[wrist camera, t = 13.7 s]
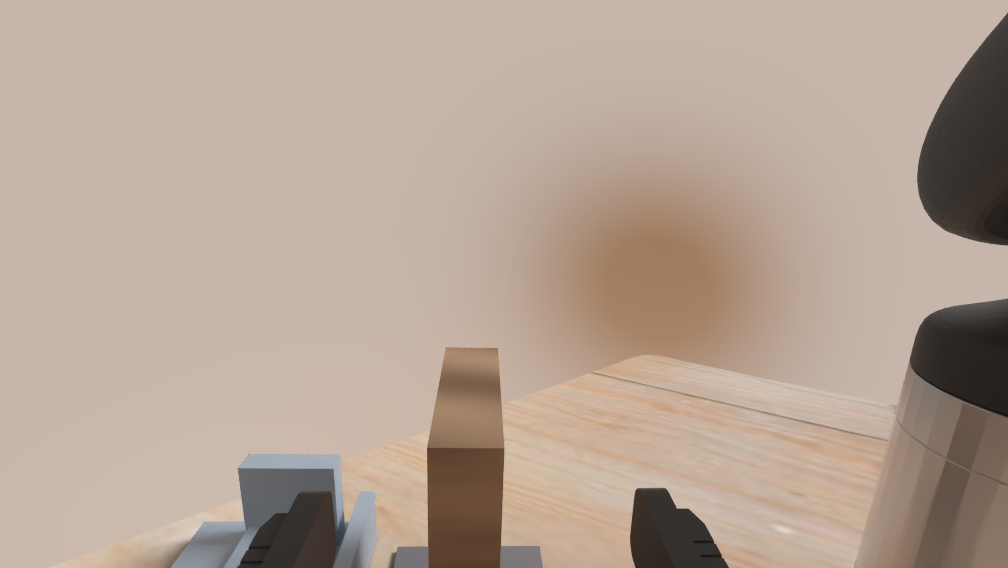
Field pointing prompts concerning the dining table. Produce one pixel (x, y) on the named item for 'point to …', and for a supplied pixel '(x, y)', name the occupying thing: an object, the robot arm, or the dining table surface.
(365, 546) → the rack
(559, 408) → the dining table surface
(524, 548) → the mat
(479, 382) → the walnut board
